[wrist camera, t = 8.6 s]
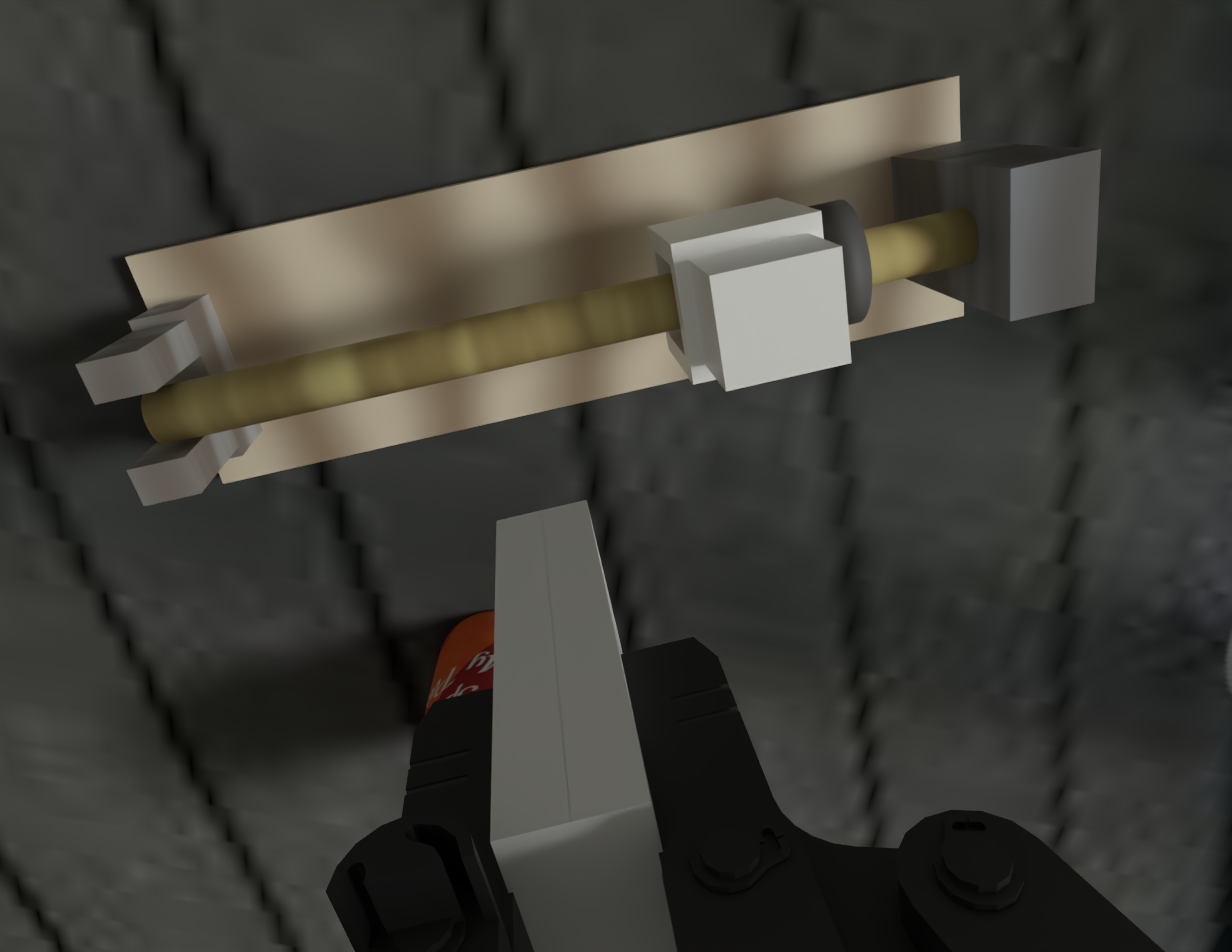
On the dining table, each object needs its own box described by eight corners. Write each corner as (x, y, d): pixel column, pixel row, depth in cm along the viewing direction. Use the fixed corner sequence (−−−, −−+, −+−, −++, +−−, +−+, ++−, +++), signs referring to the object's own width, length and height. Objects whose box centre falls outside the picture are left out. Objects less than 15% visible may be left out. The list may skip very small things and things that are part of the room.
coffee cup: (475, 561, 41) (459, 785, 27) (607, 637, 44) (654, 876, 30) (384, 680, 43) (327, 944, 29) (516, 746, 46) (521, 1015, 32)
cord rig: (230, 475, 38) (141, 589, 28) (135, 253, 33) (-4, 304, 24) (953, 311, 39) (1091, 371, 30) (946, 77, 35) (1105, 62, 25)
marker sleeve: (668, 349, 33) (713, 412, 26) (647, 226, 31) (689, 258, 24) (790, 321, 33) (868, 377, 26) (776, 197, 31) (857, 221, 24)
